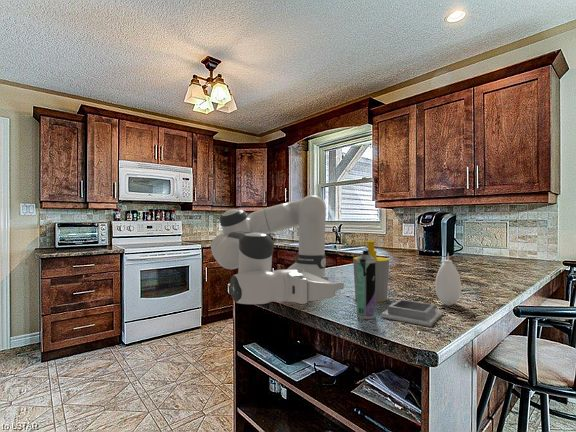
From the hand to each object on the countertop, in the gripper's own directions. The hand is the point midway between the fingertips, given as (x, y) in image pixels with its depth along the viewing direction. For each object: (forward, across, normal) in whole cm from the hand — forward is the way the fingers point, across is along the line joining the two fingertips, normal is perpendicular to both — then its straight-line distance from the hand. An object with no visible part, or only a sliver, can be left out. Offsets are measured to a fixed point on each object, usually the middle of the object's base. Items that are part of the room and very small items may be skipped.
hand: (334, 282), depth 96 cm
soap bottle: (+25, -20, -11) cm, 34 cm away
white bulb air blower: (+45, -3, -11) cm, 46 cm away
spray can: (+11, 0, -11) cm, 15 cm away
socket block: (+24, +4, -11) cm, 27 cm away
